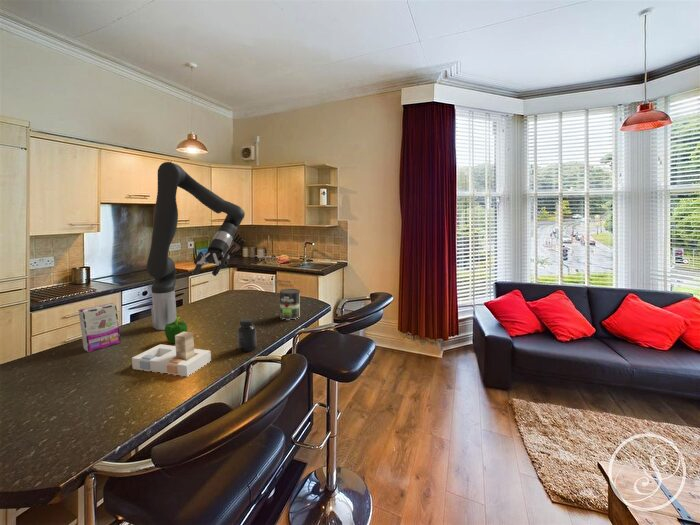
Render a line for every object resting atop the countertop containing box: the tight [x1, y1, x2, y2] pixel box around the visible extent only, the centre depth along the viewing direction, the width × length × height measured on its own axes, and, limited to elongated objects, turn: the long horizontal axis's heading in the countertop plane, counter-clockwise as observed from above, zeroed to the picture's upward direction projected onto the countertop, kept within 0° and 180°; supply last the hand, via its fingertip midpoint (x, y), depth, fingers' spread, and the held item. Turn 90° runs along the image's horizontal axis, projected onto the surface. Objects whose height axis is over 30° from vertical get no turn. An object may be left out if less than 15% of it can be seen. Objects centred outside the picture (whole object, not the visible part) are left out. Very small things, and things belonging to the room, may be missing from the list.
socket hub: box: [131, 344, 212, 378], centre depth 113 cm, size 22×12×4 cm, turn 77°
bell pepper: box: [164, 316, 188, 344], centre depth 133 cm, size 8×8×10 cm
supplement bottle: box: [237, 317, 258, 353], centre depth 127 cm, size 7×7×12 cm
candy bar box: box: [78, 302, 121, 353], centre depth 127 cm, size 11×5×16 cm, turn 148°
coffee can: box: [279, 288, 301, 321], centre depth 166 cm, size 10×10×14 cm
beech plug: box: [174, 331, 195, 361], centre depth 111 cm, size 4×4×12 cm
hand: (204, 274), depth 130 cm, fingers open, 8 cm apart
